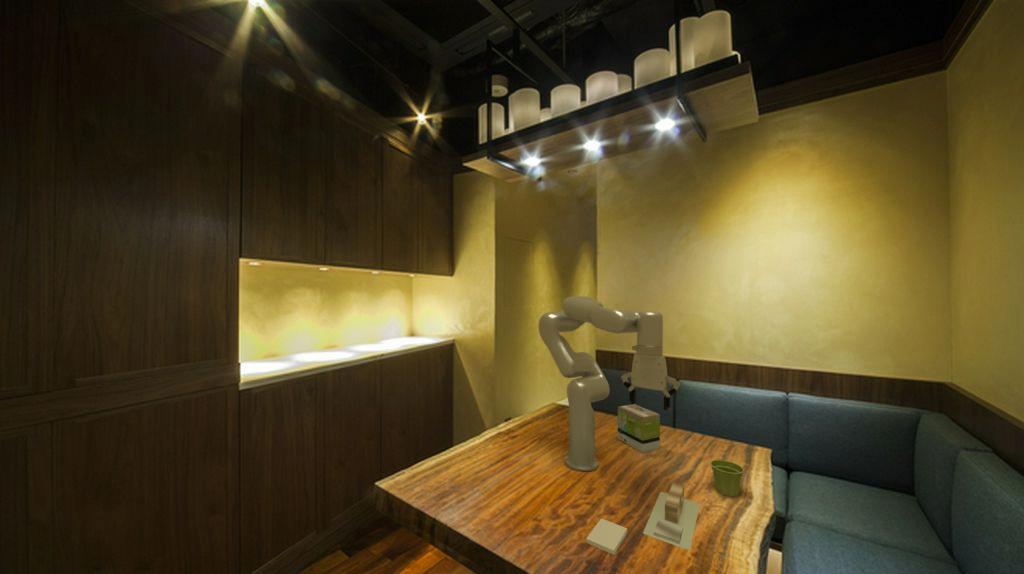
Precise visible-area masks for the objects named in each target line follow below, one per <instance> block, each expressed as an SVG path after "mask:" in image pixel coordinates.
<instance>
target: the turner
mask: <svg viewBox="0 0 1024 574" xmlns="http://www.w3.org/2000/svg"><path fill="white" fill-rule="evenodd" d="M668 494H669V495H668V497H667V500H666V503H665V520H664V519H661V518H659V519H658V522H657V524H656V527H655V530H654V535H655V536H658V537H661V538H663V539H666V540H669V541H672V542H674V543H677V544H680V540H681V536H682V532H683V526H682V525H679V524H678V521H679V518H680V514H681V511H682V507H683V504H684V499H685V485H684V484H682V483H676V482H672V483H671V486H670V489H669V492H668Z"/></svg>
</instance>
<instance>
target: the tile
mask: <svg viewBox="0 0 1024 574" xmlns="http://www.w3.org/2000/svg"><path fill="white" fill-rule="evenodd" d="M627 534H628V528H627V527H624V526H622V525H619V524H617V523H614V522H612V521H610V520H606V519H605V518H600V519H599V521H598V522H597V524H596V525H595V526H594V528H593V529H592V530H591V532H590V533H589V534H588V535H587V537H586V538H585V543H586V544H588V545H591V546H592V547H594V548H596V549H599V550H602V551H604V552H605V553H609V554H610V555H612V556H614V555H615V554H616V552H617V550H618V549H619V547H620V546H621V544H622V543H623V541H624V539H625V537H626V536H627Z"/></svg>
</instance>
